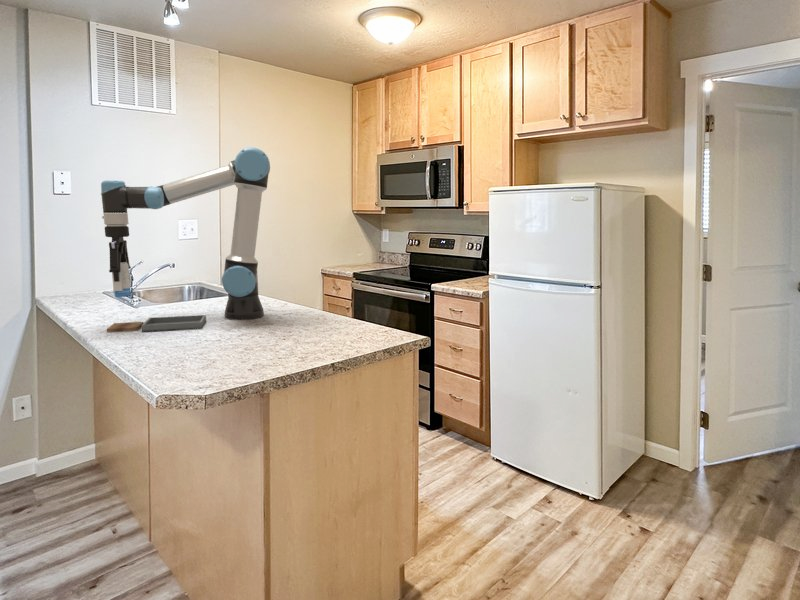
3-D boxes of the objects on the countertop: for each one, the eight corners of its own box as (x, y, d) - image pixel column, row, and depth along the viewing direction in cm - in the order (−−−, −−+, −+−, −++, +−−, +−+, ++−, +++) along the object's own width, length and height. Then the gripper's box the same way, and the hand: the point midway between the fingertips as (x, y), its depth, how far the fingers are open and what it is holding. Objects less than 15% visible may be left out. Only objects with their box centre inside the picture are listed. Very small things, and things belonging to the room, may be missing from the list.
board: (143, 324, 198) (143, 321, 198) (137, 330, 188) (137, 327, 188) (114, 326, 196) (114, 323, 195) (106, 332, 186) (106, 328, 186)
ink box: (131, 296, 188) (128, 254, 185) (115, 297, 185) (112, 255, 183) (128, 293, 195) (125, 253, 192) (113, 294, 192) (109, 253, 190)
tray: (206, 321, 204) (205, 315, 203) (202, 329, 190) (201, 322, 190) (150, 324, 199) (149, 317, 199) (141, 332, 186) (141, 325, 185)
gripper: (113, 224, 196) (118, 285, 199) (95, 226, 174) (101, 293, 178) (135, 224, 197) (140, 284, 201) (120, 226, 176) (125, 292, 180)
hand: (122, 288), depth 190 cm, fingers closed on ink box, 9 cm apart
